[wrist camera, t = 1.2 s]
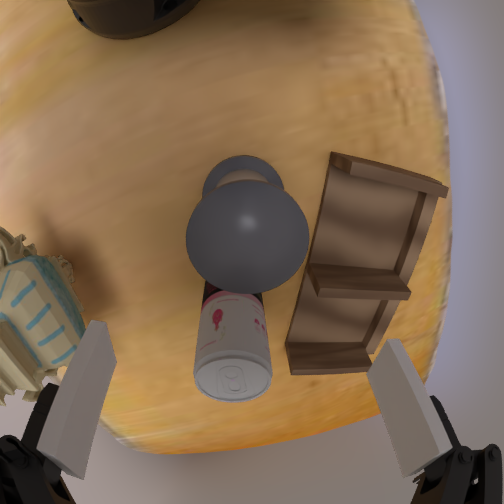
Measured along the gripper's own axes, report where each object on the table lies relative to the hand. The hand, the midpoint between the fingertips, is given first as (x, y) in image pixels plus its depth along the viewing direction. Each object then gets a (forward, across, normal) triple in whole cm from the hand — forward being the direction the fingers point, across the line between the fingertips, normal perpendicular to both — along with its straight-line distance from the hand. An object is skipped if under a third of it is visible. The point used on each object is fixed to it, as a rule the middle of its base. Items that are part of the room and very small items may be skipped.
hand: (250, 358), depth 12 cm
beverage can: (+21, 0, -10) cm, 23 cm away
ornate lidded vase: (+21, -22, -10) cm, 32 cm away
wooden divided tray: (+20, +16, -6) cm, 27 cm away
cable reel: (+21, 0, +1) cm, 21 cm away
